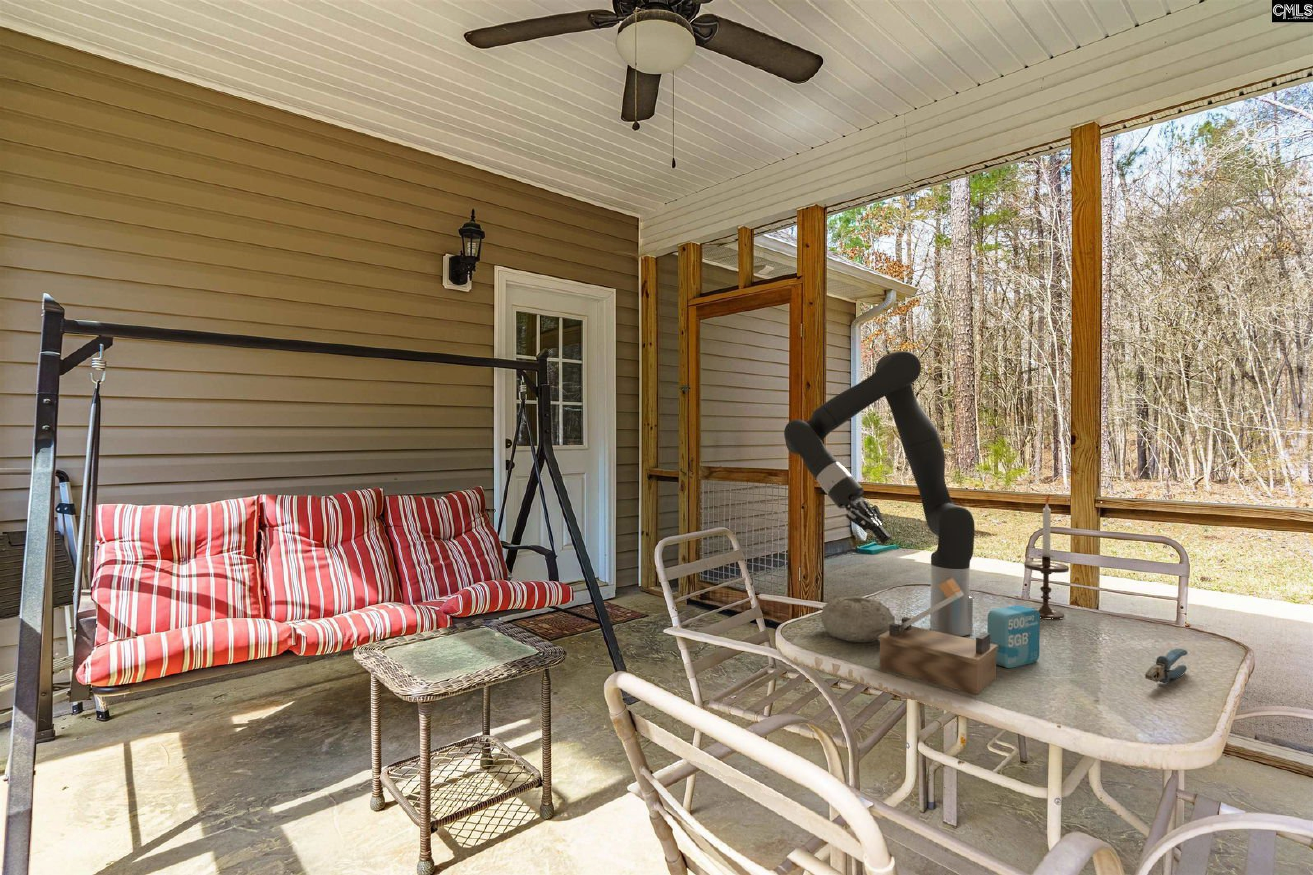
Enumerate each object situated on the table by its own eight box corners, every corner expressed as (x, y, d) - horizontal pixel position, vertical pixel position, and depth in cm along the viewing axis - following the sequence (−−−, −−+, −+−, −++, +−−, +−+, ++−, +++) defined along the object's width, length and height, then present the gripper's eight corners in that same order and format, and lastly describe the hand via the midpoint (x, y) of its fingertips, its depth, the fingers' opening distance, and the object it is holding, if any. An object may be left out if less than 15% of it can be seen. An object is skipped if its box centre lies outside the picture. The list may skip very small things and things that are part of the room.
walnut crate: (877, 667, 139) (878, 621, 139) (901, 653, 148) (902, 610, 148) (978, 695, 125) (978, 643, 125) (997, 677, 134) (998, 629, 134)
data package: (1005, 669, 138) (1005, 615, 138) (986, 663, 143) (987, 610, 142) (1039, 661, 144) (1040, 609, 144) (1020, 655, 148) (1021, 604, 148)
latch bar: (896, 633, 140) (885, 616, 142) (903, 629, 143) (892, 613, 145) (958, 599, 131) (946, 581, 133) (965, 595, 134) (952, 577, 136)
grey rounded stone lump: (821, 624, 171) (822, 587, 170) (891, 630, 166) (892, 592, 166) (819, 645, 153) (820, 604, 153) (897, 653, 148) (898, 611, 148)
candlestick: (1077, 619, 176) (1079, 494, 176) (1044, 621, 174) (1046, 495, 174) (1046, 609, 187) (1047, 491, 187) (1014, 610, 185) (1016, 491, 184)
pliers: (1153, 695, 126) (1154, 665, 126) (1141, 691, 127) (1141, 662, 127) (1189, 674, 137) (1190, 647, 137) (1177, 671, 139) (1178, 644, 138)
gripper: (835, 476, 148) (885, 534, 140) (862, 473, 158) (910, 527, 149) (815, 496, 152) (863, 554, 144) (842, 493, 162) (888, 547, 153)
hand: (887, 540), depth 147 cm, fingers closed
